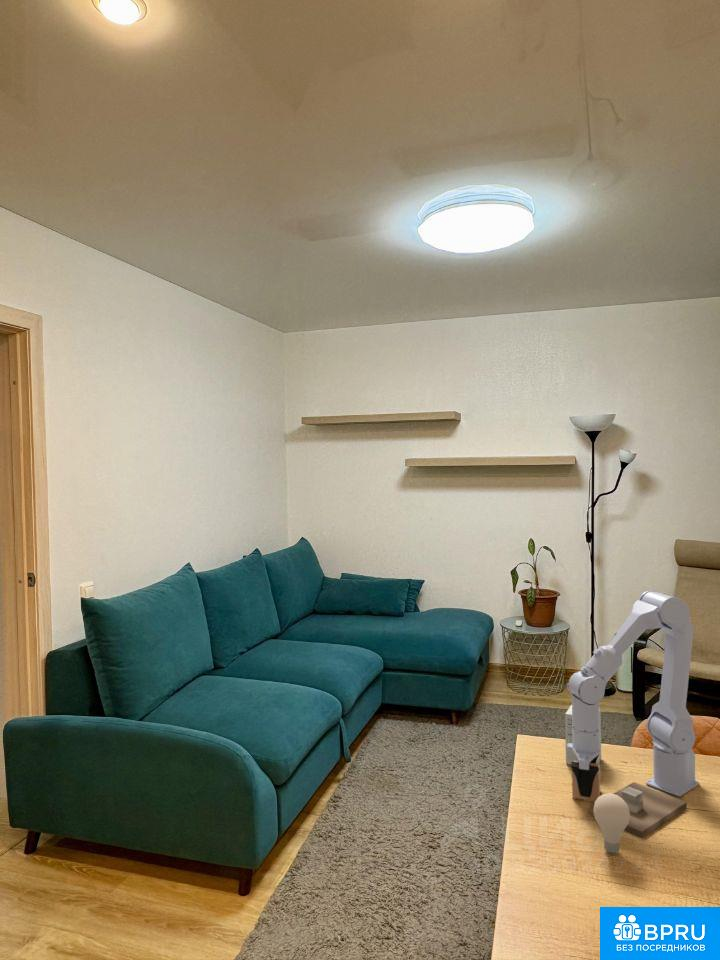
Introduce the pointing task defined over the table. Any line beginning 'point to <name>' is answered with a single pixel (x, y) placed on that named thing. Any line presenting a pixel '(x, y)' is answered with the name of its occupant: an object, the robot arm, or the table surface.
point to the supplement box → (568, 736)
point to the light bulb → (611, 819)
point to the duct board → (647, 808)
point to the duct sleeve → (595, 787)
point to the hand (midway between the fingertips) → (586, 788)
